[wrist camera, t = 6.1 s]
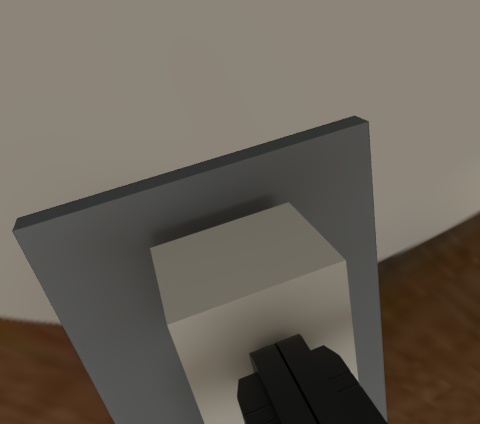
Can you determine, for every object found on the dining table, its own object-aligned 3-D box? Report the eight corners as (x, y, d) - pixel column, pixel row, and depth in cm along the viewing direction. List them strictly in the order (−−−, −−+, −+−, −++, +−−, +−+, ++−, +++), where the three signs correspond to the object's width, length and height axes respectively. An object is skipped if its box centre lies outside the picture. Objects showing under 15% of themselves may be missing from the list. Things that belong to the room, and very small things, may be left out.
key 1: (288, 201, 15) (351, 265, 11) (306, 309, 18) (363, 391, 14) (150, 248, 14) (168, 332, 11) (188, 354, 17) (214, 454, 13)
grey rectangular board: (354, 115, 17) (368, 121, 16) (380, 450, 27) (389, 464, 27) (17, 218, 15) (12, 231, 14) (183, 539, 25) (186, 558, 24)
